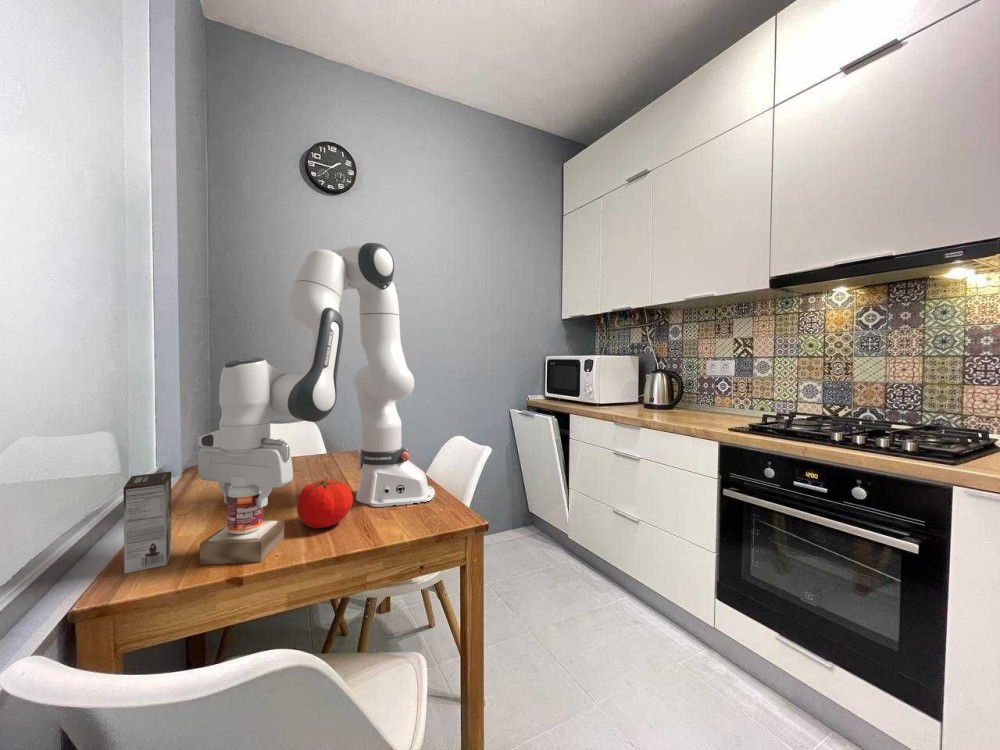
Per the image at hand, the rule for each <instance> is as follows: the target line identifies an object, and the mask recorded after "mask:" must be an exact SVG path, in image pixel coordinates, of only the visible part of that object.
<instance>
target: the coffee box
mask: <svg viewBox="0 0 1000 750" xmlns="http://www.w3.org/2000/svg"><path fill="white" fill-rule="evenodd" d="M172 543H173V542H172V471H163V472H155V473H146V474H138V475H131V476H130V478H128V481H127V482H126V483H125V485H124V486H123V572H124V574H131V573H134V572H139V571H145V570H148V569H153V568H158V567H163V566H166V565H168V562H169V559H170V555H171V552H172V545H173V544H172Z"/></svg>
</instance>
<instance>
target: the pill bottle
mask: <svg viewBox="0 0 1000 750" xmlns="http://www.w3.org/2000/svg"><path fill="white" fill-rule="evenodd" d="M231 486H232V487H231V488H230V489H229V491H228V495H227V497H228V500H227V501H228V502H227V503H226V504H227V505H226V506H227V510H226V511H227V516H226V518H227V519H226V521H227V523H226V525H227V529H228V532H229V533H231V534H245V533H250V532H253V531H256V530H258V529H259V528H261V526H262V522H263V521H264V520H263V518H264V517H263V511H264V510H263V508H264V507H256V506H255V498H257V497H259V495H260V493H261V491H259V486H258V485H248V484H247V483H246V477H237V476H231Z"/></svg>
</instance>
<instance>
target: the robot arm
mask: <svg viewBox="0 0 1000 750" xmlns="http://www.w3.org/2000/svg"><path fill="white" fill-rule="evenodd" d="M394 272H395V262H394V257H393V256H392V254H391V252H390V250H389V249H388V248H387V247H386V246H385V245H384V244H382V243H376V242H367V243H366V242H365V243H362V244H359V243H358V244H352V245H347V246H345V247H343V248H338V249H336V250H329V249H324V248H317V249H314V250H312V251H310V252H309V253H308V254H307V256H306V257H305V258H304V260H303V262H302V264H301V266H300V267H299V269H298V272H297V274H296V276H295V278H294V282H293V284H292V287H291V289H290V292H289V296H288V301H287V302H288V303H287V308H288V310H289V312H290V314H291V316H292V317H293V319H295V321H297V323H299V324H300V325H302V326H303V327H306V328H308V329H309V330H311V332H312V336H313V341H312V344H311V345H312V346H311V351H310V357H309V361H308V366H307V369H306V371H304V372H303V373H302V374H291V373H286V372H284V371H281V370H279V369H278V368H276V367H274V366H273V365H271V364H270V363H268V361H267V360H266V359H265V358H261V357H250V358H240V359H233V360H231V361H229V362H227V363H225V364H224V366H223V368H222V371H221V373H220V380H219V392H218V393H219V399H218V401H219V406H220V409H221V417H220V420H219V429H217V430H215V431H212V432H209V433H206V434H203V435H199V436H198V439H197V443H198V446H199V447H201V448H199V451H198V455H197V473H198V476H199V478H200V479H201V480H202V481H206V482H217V483H218V487H219V489H220V491H221V493H222V495H223V503H224V504H227V502H228V501H227V500H228V497H227V495H228V491H229V489H230V488H231V487H233V486H232V485H231V476H237V477H246V483H247V484H248V485H258V486H259V491H261V493H260V495H259V497H257V498H255V506H256V507H263V508H264V507H266V506H268V503H269V501H268V500H269V499H268V498H269V496H270V494H271V492H272V491H273V488H281V487H284V486H287V485H290V484H291V482H292V481H293V478H294V469H293V461H292V460H293V459H292V456H291V448H290V445H288V443H287V442H285V440H283V439H273V438H271V418H272V416H273V417H279V418H280V417H281V418H286V419H287V418H289V419H297V420H301V421H306V422H310V423H315V422H317V423H318V422H321V421H323V420H324V419H326V418H327V417H328V416H329V415H330V414H331V412H332V411H333V409H335V406H336V403H337V398H338V396H337V395H338V390H337V389H338V388H337V380H338V379H337V378H338V370H339V365H340V356H341V351H342V342H343V335H344V320H343V317H342V315H341V314H340V305H341V302H342V298H343V294H344V290H356V292H358V295H359V328H360V329H359V330H360V344H361V346H362V348H363V349H364V352H365V356H366V359H367V363H368V364H365V365H364V366H362V367H361V368H359V369H358V370H357V371H356V372H355V373H354V378H353V387H354V389H355V391H356V395H357V400H358V405H359V410H360V411H359V412H360V417H361V425H362V426H361V429H362V430H361V433H362V434H361V444H362V447H361V449H360V453H359V465H360V478H359V484H358V489H357V493H356V496H355V500H356V502H359V503H362V504H366V505H369V506H370V507H373V508H384V507H392V506H393V505H396V506H405V505H406V504H407V505H414V504H413V503H418V504H421V503H420V502H427V501H430V500H431V499H432V498H433V497H434V495H435V496H436V491H435V489H434V487H432V486H431V485H428V480H427V476H426V473H425V472H424V470H422V469H421V468H419V467H418V466H416V465H415V464H414V463H413V462H411V461H410V460H409V458H410V457H409V456H410V454H409V449H408V448H406V449H405V448H404V447H403V446H402V437H403V436H402V429H403V427H402V424H403V423H402V419H401V417H400V416H399V413H398V409H397V405H396V403H397V402H401V401H405V400H406V399H408V398H409V397H410V396H411V394H412V393H413V391H414V388H415V377H414V375H413V373H412V372H411V371H410V370H409V367H408V365H407V361H406V358H405V355H404V354H405V353H404V350H403V347H402V346H403V345H402V341H401V340H402V339H401V338H402V337H401V325H400V324H401V321H400V307H399V299H398V298H399V297H398V293H397V289H396V286H395V284H394V282H393V277H394V274H395V273H394ZM434 498H435V497H434ZM434 498H433V499H434ZM433 499H432V500H433ZM432 500H431V501H432ZM431 501H430V502H431ZM427 503H428V502H427ZM393 507H394V506H393Z"/></svg>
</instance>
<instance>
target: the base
mask: <svg viewBox="0 0 1000 750" xmlns="http://www.w3.org/2000/svg"><path fill="white" fill-rule="evenodd" d="M284 539H285V520H263V522H262V526H261V528H259V529H258V530H256V531H253V532H250V533H245V534H231V533H229V532H228V529H227V524H226V525H224V526H223V527H221V528H220V529H219V530H217V531H216V532H214V533H213V534H212V535H210V536H208V537H207V538H206V539H205V540H203V541H202V542H200V543H199V565H200V566H201V565H225V564H226V563H229V564H244V563H245V564H246V563H247V564H248V562H253V563H262V562H263V561H264V560H265V559H266V558H267V557H268V556H269V555H270V554H271V553H270V552H273V550H275V548H276V547H277V546H278V545H279V544H280V543H281V542H283V540H284ZM269 553H270V554H269ZM268 554H269V555H268ZM267 555H268V556H267ZM266 556H267V557H266ZM265 557H266V558H265ZM264 558H265V559H264ZM263 559H264V560H263ZM262 560H263V561H262Z"/></svg>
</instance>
